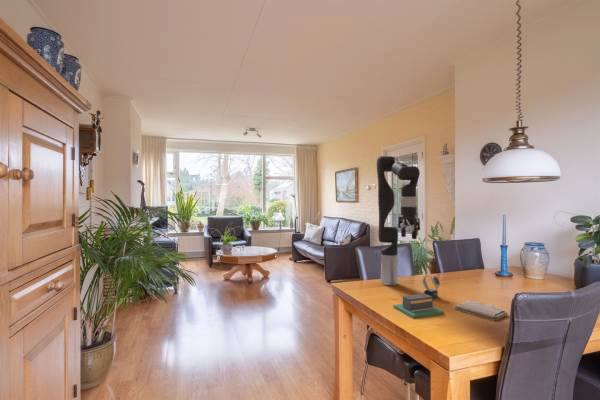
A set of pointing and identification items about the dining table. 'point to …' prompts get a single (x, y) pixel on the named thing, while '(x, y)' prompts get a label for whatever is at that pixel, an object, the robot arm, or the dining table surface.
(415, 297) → the grey rectangular block
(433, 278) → the watch
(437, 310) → the board
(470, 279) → the dining table surface
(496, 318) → the washcloth
